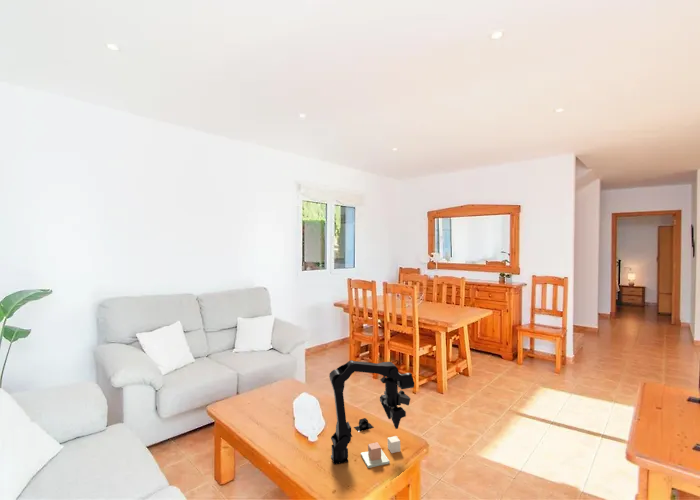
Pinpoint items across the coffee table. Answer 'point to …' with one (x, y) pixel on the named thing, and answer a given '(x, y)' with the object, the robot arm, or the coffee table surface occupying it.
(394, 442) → the cream brick
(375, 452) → the terracotta brick
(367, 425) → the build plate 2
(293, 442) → the coffee table surface
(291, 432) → the coffee table surface
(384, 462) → the plate
